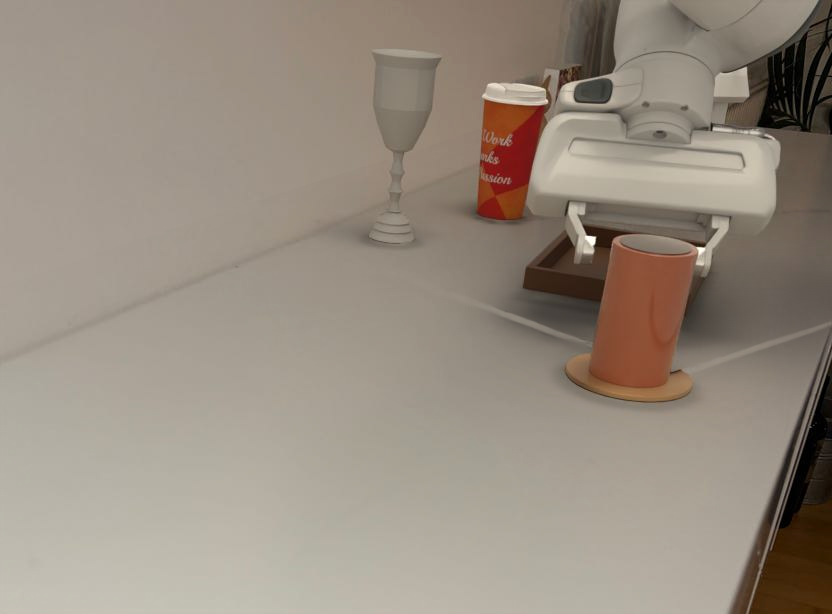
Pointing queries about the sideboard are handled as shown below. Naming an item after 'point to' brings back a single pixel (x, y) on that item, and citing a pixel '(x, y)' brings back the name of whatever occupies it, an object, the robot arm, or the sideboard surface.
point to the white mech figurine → (728, 92)
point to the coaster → (670, 390)
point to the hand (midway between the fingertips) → (640, 267)
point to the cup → (642, 309)
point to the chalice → (401, 123)
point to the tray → (584, 266)
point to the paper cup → (508, 147)
